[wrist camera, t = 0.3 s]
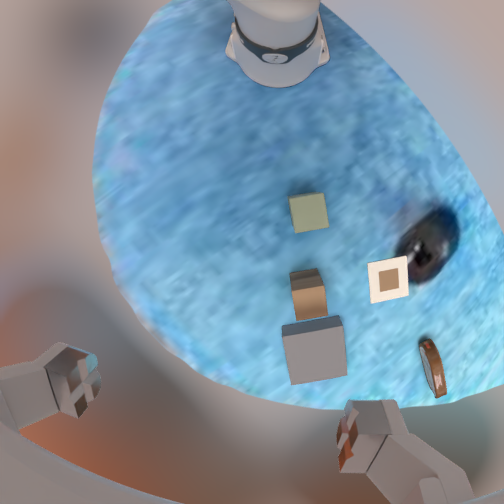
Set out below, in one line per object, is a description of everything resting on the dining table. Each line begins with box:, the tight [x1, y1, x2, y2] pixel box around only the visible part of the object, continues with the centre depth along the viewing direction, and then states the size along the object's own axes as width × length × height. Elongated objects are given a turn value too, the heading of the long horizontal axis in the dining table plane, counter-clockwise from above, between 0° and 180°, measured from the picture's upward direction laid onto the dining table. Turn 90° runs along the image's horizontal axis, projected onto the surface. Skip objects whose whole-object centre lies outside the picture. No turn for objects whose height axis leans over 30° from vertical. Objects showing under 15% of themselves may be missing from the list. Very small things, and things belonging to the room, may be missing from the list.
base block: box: [282, 315, 347, 385], centre depth 57 cm, size 11×11×5 cm
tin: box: [419, 338, 447, 398], centre depth 54 cm, size 15×3×8 cm, turn 27°
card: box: [367, 256, 408, 303], centre depth 55 cm, size 8×8×1 cm
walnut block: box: [290, 268, 328, 321], centre depth 52 cm, size 5×5×10 cm
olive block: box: [287, 192, 329, 233], centre depth 49 cm, size 5×5×10 cm
